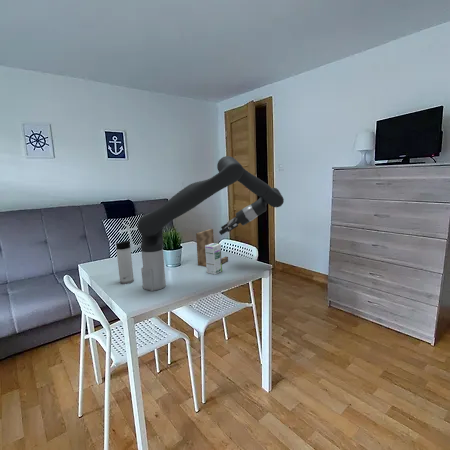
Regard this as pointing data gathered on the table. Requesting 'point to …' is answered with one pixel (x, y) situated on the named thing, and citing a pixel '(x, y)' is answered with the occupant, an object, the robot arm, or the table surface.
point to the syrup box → (213, 258)
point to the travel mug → (125, 262)
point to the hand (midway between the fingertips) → (221, 231)
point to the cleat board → (202, 241)
